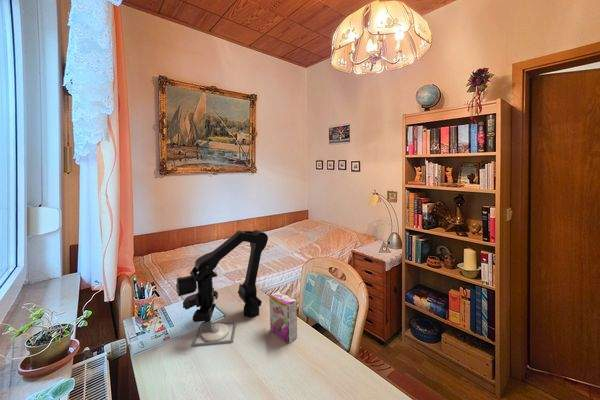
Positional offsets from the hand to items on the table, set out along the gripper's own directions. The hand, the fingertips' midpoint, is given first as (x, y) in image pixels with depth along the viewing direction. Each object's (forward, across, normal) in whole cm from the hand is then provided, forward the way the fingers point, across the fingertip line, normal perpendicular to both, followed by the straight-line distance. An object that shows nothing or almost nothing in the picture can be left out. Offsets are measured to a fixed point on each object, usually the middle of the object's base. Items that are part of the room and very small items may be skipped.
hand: (207, 324), depth 109 cm
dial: (+2, +3, +4) cm, 5 cm away
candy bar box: (+4, +6, +31) cm, 31 cm away
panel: (+4, +3, +4) cm, 6 cm away
